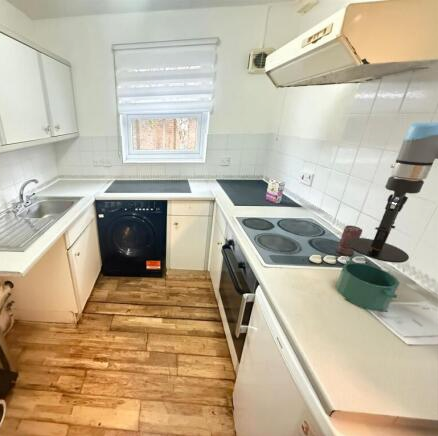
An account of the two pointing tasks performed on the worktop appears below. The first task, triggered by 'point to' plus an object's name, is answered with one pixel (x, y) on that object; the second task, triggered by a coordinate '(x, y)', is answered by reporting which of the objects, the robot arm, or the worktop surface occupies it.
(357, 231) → the can
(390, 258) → the lid
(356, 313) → the worktop surface
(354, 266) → the pot
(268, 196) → the candy bar box
